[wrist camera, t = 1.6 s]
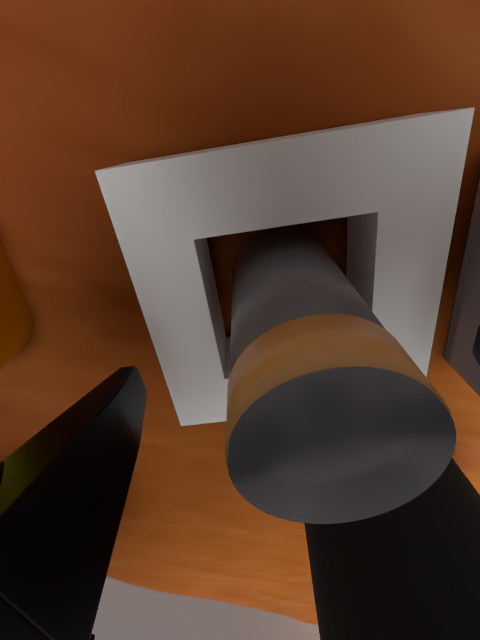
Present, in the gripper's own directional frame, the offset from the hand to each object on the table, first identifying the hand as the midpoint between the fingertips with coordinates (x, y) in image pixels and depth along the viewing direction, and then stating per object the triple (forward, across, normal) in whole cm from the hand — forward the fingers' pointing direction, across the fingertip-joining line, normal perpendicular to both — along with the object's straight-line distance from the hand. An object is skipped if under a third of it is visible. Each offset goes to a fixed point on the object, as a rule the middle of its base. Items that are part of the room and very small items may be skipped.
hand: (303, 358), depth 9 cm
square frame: (+6, 0, 0) cm, 6 cm away
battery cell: (+6, 0, 0) cm, 6 cm away
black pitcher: (+6, -4, +13) cm, 15 cm away
